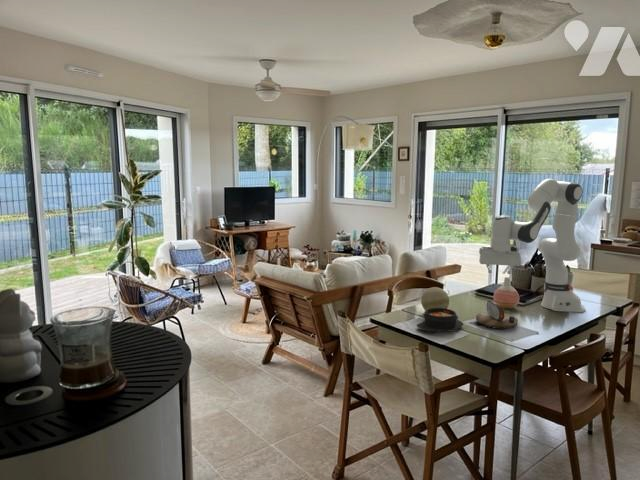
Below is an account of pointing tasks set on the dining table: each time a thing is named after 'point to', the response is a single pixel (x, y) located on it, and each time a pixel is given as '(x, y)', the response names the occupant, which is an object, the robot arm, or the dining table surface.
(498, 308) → the tin
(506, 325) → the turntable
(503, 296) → the vase
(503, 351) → the dining table surface
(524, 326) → the dining table surface
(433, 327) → the casserole
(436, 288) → the decorative ball
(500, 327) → the turntable base
